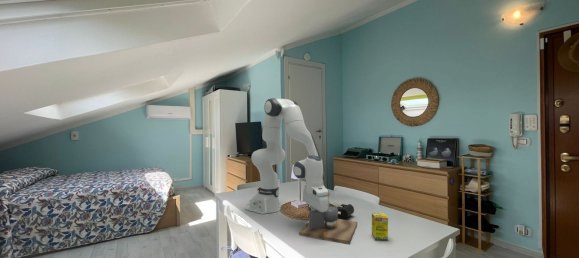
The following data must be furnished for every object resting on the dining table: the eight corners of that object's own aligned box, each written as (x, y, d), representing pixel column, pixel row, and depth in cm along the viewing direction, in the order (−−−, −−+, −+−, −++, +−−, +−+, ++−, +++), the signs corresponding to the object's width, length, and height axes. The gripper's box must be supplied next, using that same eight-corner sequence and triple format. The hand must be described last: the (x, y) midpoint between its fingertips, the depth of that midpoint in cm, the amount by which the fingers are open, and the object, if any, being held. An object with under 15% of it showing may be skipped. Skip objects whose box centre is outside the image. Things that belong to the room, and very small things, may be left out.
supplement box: (375, 240, 113) (375, 217, 113) (371, 235, 119) (371, 212, 119) (388, 241, 113) (388, 217, 113) (384, 235, 119) (384, 212, 119)
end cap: (347, 221, 136) (347, 209, 136) (335, 218, 141) (335, 207, 141) (354, 216, 145) (354, 204, 144) (343, 213, 149) (343, 202, 149)
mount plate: (299, 235, 120) (299, 223, 120) (314, 218, 142) (314, 208, 142) (349, 244, 110) (349, 232, 110) (357, 224, 132) (357, 214, 132)
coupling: (332, 220, 131) (332, 205, 131) (340, 226, 124) (340, 210, 124) (307, 225, 125) (306, 209, 125) (314, 231, 118) (314, 214, 118)
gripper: (299, 184, 133) (299, 209, 134) (319, 194, 114) (319, 223, 115) (310, 182, 136) (310, 207, 136) (330, 192, 117) (330, 221, 117)
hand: (314, 215), depth 125 cm, fingers closed
